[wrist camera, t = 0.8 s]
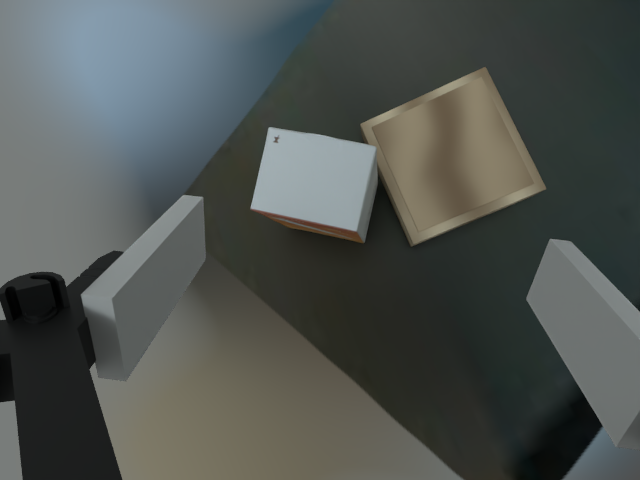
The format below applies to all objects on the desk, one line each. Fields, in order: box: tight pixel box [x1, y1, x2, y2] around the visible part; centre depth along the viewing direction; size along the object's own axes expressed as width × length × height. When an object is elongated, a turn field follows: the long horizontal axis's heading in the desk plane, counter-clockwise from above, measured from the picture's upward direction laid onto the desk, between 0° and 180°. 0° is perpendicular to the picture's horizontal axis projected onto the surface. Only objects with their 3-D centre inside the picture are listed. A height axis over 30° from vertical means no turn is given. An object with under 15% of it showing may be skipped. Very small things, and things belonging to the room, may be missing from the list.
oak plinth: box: [360, 67, 546, 247], centre depth 39 cm, size 12×12×4 cm
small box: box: [251, 127, 378, 243], centre depth 36 cm, size 8×6×13 cm
